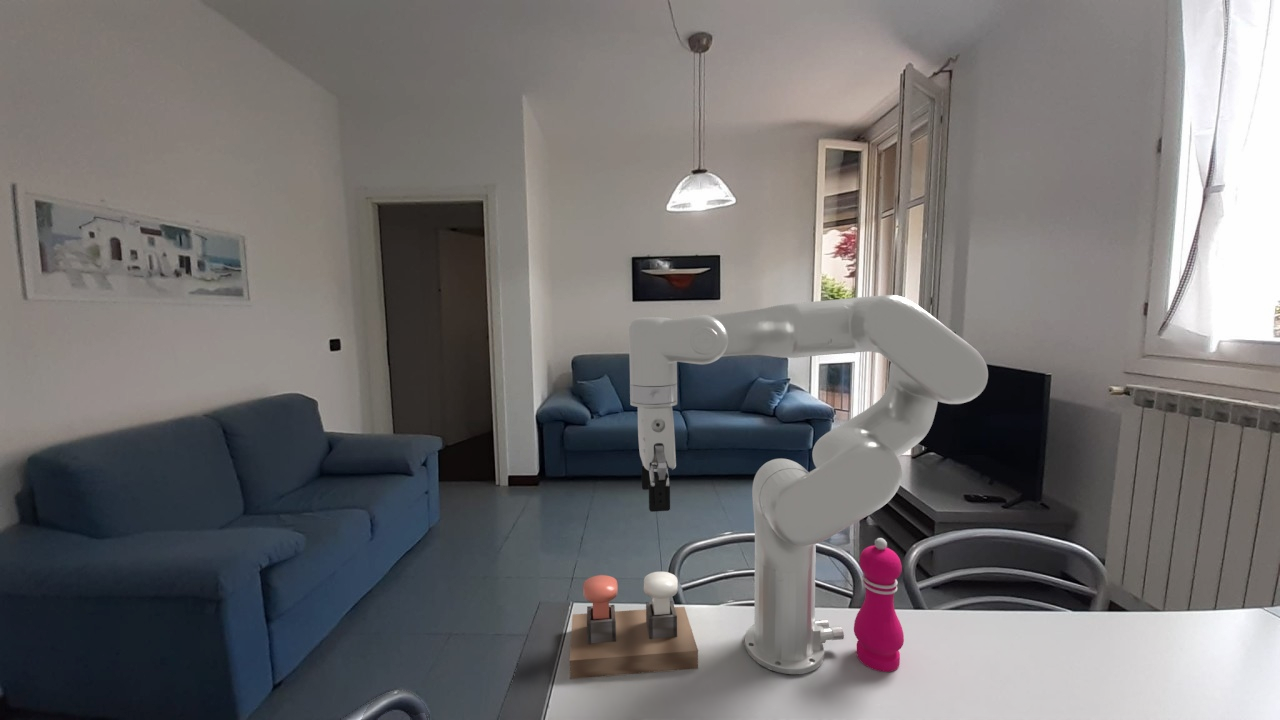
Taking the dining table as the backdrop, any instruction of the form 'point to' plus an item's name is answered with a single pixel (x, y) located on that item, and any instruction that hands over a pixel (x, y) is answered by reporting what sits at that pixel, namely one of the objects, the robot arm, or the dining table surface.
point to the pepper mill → (879, 609)
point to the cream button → (660, 590)
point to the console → (631, 643)
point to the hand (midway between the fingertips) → (655, 498)
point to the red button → (600, 594)
